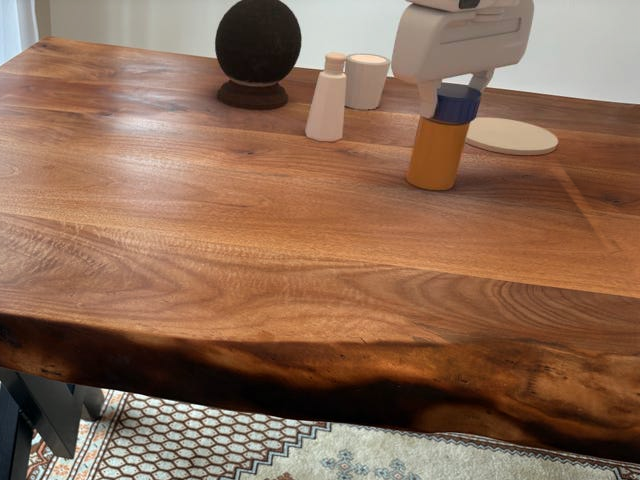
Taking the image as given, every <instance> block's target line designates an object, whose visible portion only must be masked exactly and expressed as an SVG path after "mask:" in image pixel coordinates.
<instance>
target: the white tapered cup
mask: <svg viewBox="0 0 640 480" xmlns="http://www.w3.org/2000/svg"><path fill="white" fill-rule="evenodd" d="M345 56H346V57H347V58H346V60H345V66H344V74H345V75H346V92H345V106H344V107H348V108H350V109H355V110H362V111H363V110H365V111H366V110H368V109H369V110H375V109H377V108H378V107H379V105H380V101H381V97H382V94H383V91H384V87H385V84H386V80H387V77H388V74H389V70H390V68H391V59H390V58H388V57H386V56H382V55H380V54H374V53H373V54H372V53H351V54H348V55H345ZM376 107H377V108H376Z"/></svg>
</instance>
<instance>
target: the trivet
mask: <svg viewBox="0 0 640 480" xmlns="http://www.w3.org/2000/svg"><path fill="white" fill-rule="evenodd" d="M465 144H468V145H470V146H473V147H475V148H478V149H481V150H485V151H489V152H494V153H498V154H504V155H512V156H540V155H541V156H542V155H546V154H550V153H552V152H554V151H555V150H556V149H557V147H558V144H559V139H558V137H557V136H556V135H555V134H554V133H553V132H551V131H548V130H547V129H545V128H542V127H540V126H538V125H534V124H531V123H528V122H523V121H519V120H514V119H508V118H501V117H476V118H475V119H474V120H473V121H471V123H470V127H469V131H468V134H467V138H466V142H465Z"/></svg>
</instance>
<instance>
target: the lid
mask: <svg viewBox="0 0 640 480" xmlns="http://www.w3.org/2000/svg"><path fill="white" fill-rule="evenodd" d="M437 100H438V101H440V102H442V103H441V107H440V109H439V115H438V116H435V117H432V119H435V120H439V121H444V122H451V123H466V122H471V121H473V120H474V119H475V118H477V115H478V112H479V108H480V104H481V100H482V94H481V92H480V91H478V90H476V89H474V88H471V87H468V85H464V84H458V83H448V82H442V83H441V87H440V88H439V89H437Z"/></svg>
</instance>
